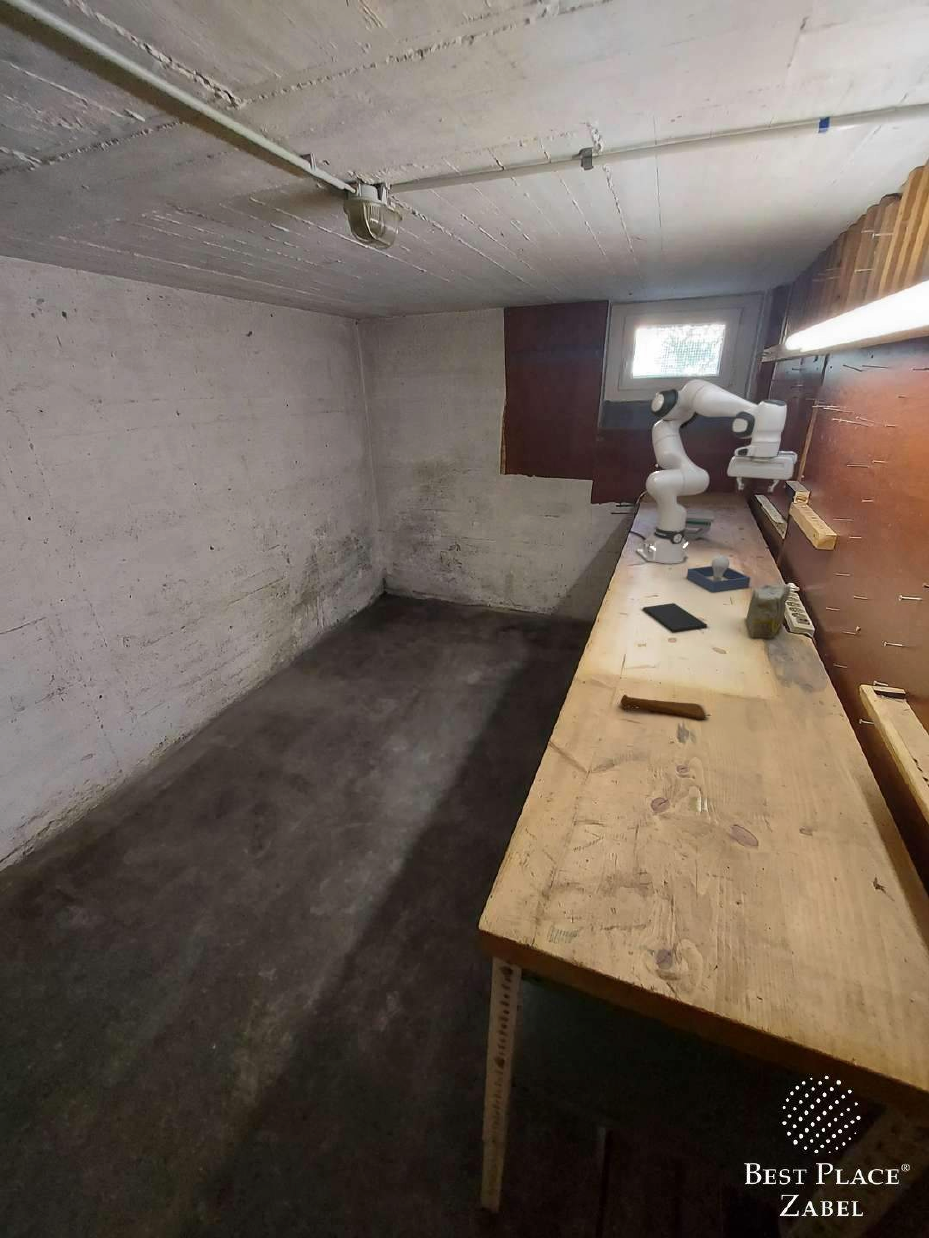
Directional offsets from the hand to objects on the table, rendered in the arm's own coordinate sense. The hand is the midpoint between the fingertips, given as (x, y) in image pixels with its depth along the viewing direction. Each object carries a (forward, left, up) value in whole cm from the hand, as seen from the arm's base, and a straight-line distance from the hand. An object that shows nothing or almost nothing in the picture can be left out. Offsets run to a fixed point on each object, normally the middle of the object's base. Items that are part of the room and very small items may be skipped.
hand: (755, 490), depth 175 cm
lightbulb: (-1, -8, -35) cm, 36 cm away
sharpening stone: (-59, +17, -35) cm, 71 cm away
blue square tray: (-1, -8, -35) cm, 36 cm away
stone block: (+38, -20, -35) cm, 56 cm away
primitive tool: (+66, -74, -35) cm, 105 cm away
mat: (+22, -42, -35) cm, 59 cm away
